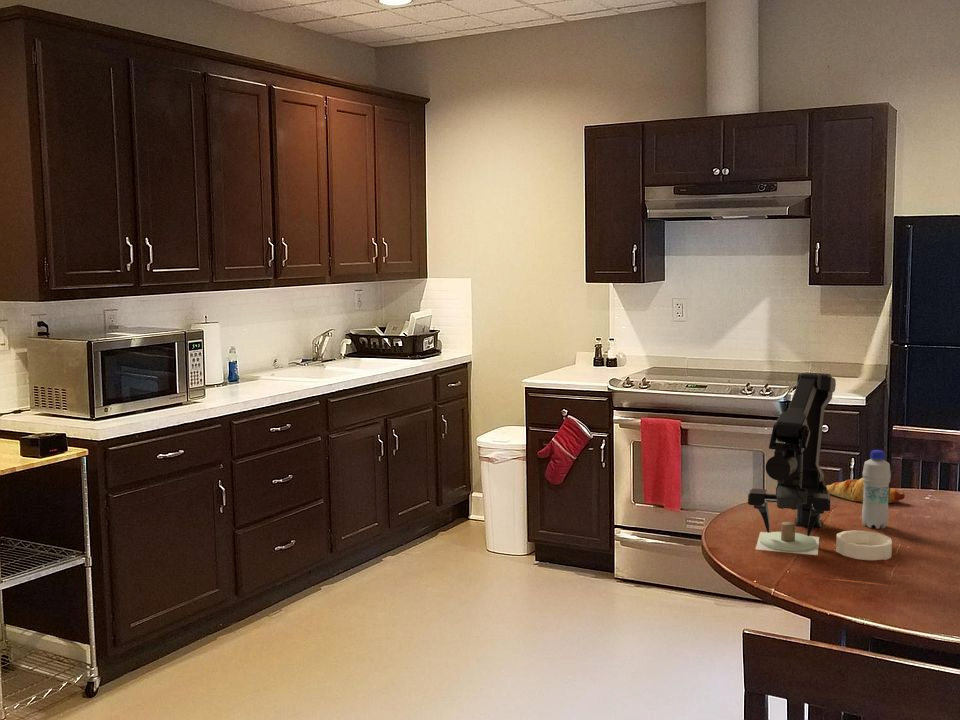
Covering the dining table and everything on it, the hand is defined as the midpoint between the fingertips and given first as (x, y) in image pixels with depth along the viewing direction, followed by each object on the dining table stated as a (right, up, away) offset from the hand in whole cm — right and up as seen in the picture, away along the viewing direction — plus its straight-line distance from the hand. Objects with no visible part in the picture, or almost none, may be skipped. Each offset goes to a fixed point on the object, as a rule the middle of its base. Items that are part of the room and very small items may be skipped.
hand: (788, 534), depth 237 cm
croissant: (+33, +3, +39) cm, 51 cm away
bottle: (+26, -1, +13) cm, 29 cm away
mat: (0, -3, 0) cm, 3 cm away
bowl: (+16, -3, -7) cm, 17 cm away
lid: (0, -2, 0) cm, 2 cm away
